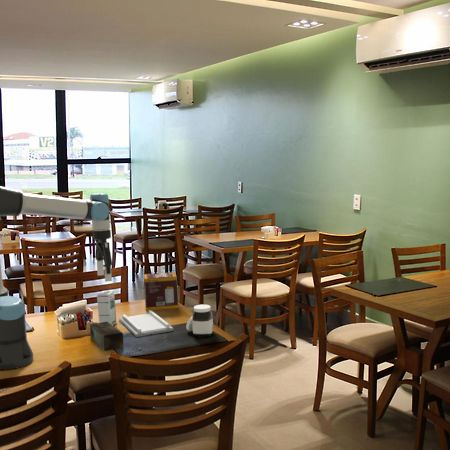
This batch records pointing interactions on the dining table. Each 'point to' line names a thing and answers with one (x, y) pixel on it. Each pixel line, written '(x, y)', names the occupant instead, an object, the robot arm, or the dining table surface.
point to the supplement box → (160, 291)
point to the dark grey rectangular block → (106, 336)
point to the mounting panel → (145, 324)
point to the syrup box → (106, 307)
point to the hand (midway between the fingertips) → (104, 278)
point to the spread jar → (201, 321)
